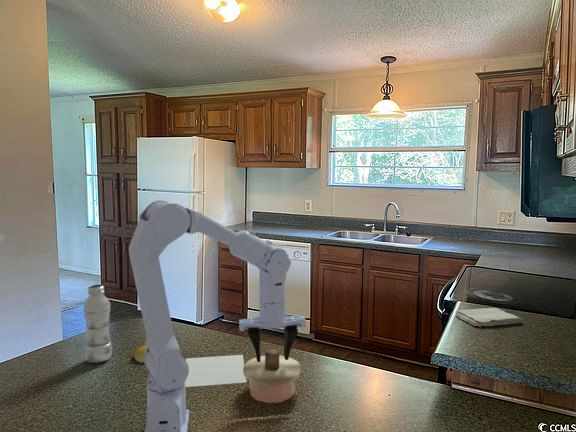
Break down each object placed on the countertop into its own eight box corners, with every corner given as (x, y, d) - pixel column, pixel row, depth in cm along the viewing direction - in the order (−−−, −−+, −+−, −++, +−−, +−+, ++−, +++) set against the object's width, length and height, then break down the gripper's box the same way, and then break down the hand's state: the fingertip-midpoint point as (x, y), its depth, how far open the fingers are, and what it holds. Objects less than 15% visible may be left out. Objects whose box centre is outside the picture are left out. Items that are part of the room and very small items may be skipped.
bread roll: (128, 362, 111) (127, 347, 110) (151, 349, 119) (150, 335, 118) (153, 367, 108) (152, 352, 107) (175, 353, 116) (174, 339, 115)
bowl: (298, 402, 92) (298, 380, 91) (252, 406, 90) (251, 384, 89) (290, 379, 101) (290, 359, 101) (248, 383, 100) (248, 362, 99)
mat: (246, 384, 99) (246, 382, 99) (181, 389, 97) (181, 387, 97) (242, 356, 114) (242, 354, 114) (185, 360, 111) (185, 358, 111)
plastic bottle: (79, 362, 110) (75, 287, 107) (101, 353, 116) (98, 281, 113) (96, 368, 107) (92, 291, 104) (118, 357, 113) (115, 284, 110)
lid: (307, 381, 90) (307, 362, 90) (247, 388, 88) (247, 368, 87) (293, 355, 103) (293, 338, 103) (240, 360, 100) (239, 343, 100)
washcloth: (452, 317, 146) (453, 308, 146) (496, 313, 151) (496, 304, 151) (476, 330, 135) (476, 320, 135) (522, 325, 139) (523, 316, 139)
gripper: (301, 293, 98) (300, 349, 100) (238, 296, 96) (239, 353, 97) (307, 302, 91) (306, 362, 93) (240, 306, 89) (240, 367, 91)
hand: (272, 359), depth 95 cm, fingers open, 6 cm apart
